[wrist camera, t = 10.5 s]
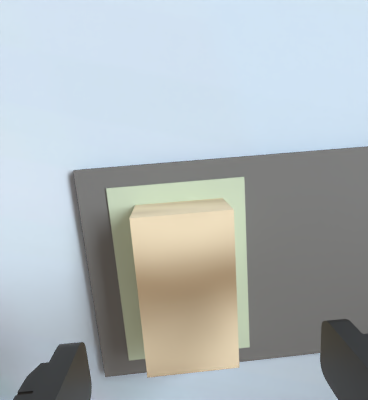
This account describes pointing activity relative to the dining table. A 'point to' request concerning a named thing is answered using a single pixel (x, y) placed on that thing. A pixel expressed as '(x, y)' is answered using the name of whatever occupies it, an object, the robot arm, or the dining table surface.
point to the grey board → (240, 245)
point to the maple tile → (186, 285)
